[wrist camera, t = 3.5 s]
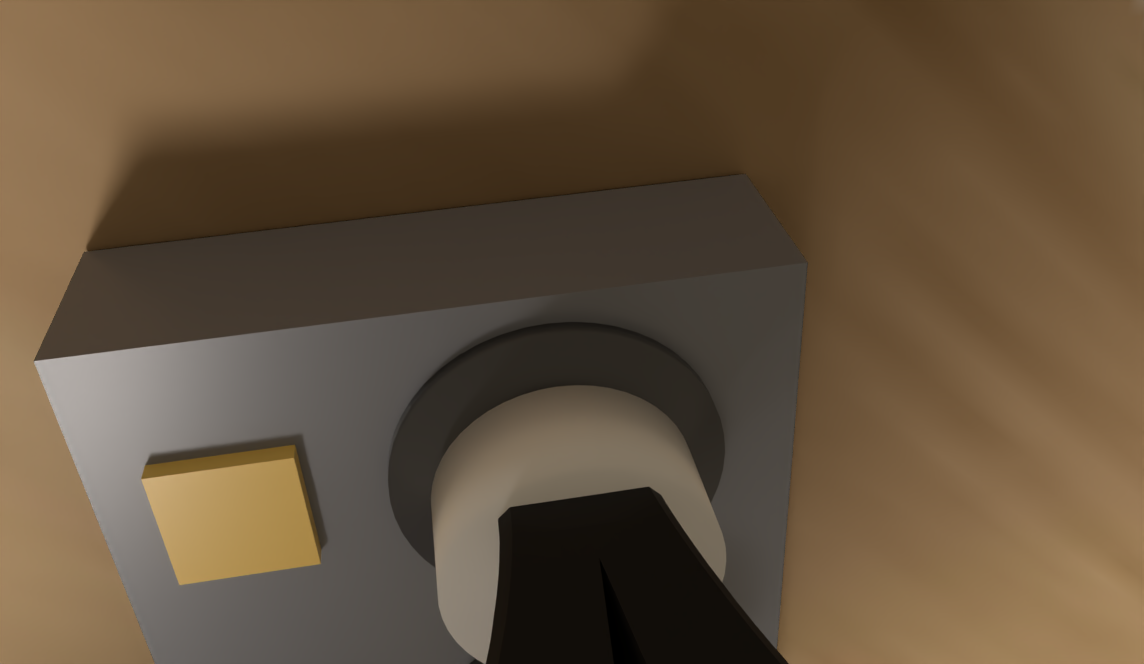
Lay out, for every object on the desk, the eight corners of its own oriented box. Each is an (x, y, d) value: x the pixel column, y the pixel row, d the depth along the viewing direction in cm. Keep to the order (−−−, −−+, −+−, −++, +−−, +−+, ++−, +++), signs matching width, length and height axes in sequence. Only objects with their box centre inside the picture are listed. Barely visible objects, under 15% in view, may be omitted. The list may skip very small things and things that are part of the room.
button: (447, 605, 11) (454, 701, 10) (413, 405, 10) (418, 494, 9) (691, 567, 11) (722, 656, 10) (693, 367, 10) (731, 449, 9)
